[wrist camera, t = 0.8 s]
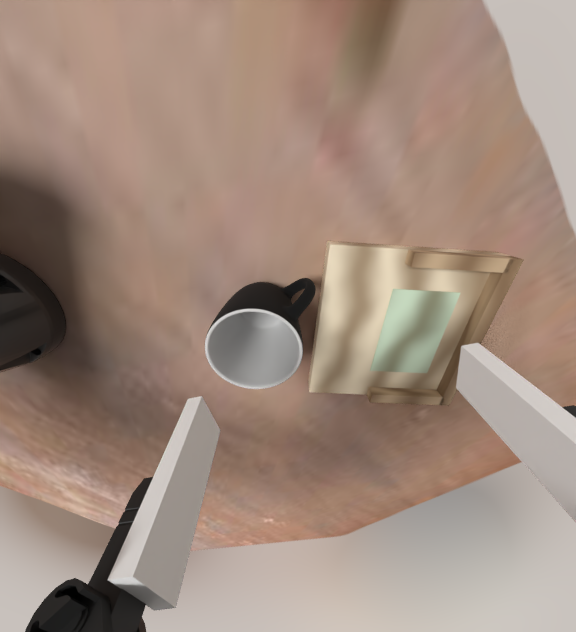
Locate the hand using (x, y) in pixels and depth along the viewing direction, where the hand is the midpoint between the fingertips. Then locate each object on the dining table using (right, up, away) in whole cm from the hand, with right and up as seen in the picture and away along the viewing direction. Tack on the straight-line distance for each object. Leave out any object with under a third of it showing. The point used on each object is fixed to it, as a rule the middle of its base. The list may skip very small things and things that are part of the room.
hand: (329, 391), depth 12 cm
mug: (-4, +6, +18) cm, 20 cm away
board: (+12, +2, +20) cm, 23 cm away
